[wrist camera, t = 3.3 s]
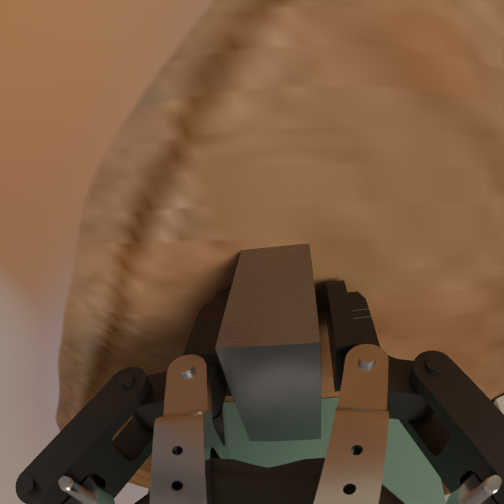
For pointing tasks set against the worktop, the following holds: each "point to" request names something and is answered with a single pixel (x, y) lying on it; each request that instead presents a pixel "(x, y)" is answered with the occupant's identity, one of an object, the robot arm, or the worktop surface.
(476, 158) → the worktop surface
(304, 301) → the block
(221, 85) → the worktop surface
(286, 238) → the worktop surface
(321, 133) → the worktop surface
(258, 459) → the money box
